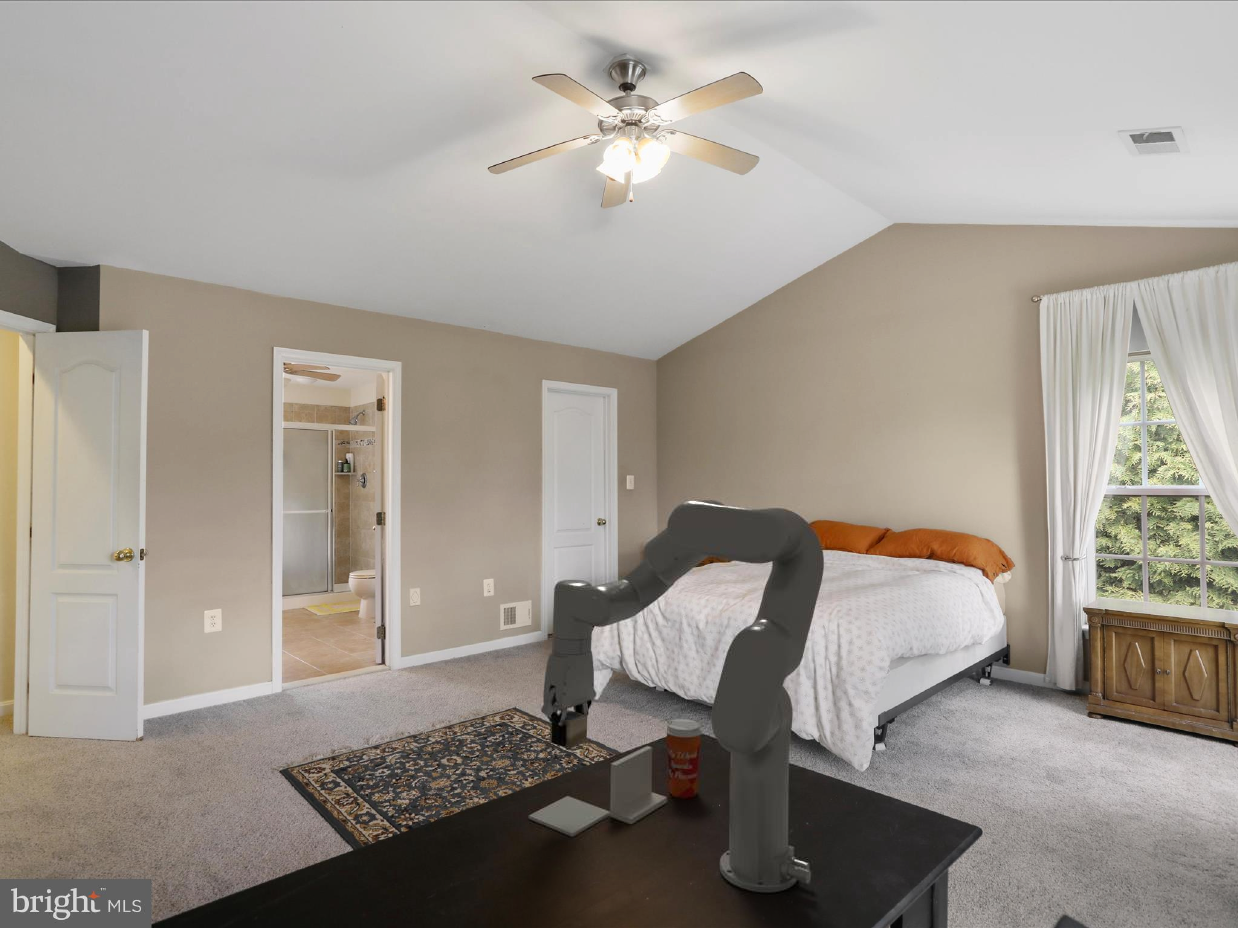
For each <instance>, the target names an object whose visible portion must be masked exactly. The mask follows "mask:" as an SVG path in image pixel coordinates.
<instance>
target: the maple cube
mask: <svg viewBox="0 0 1238 928" xmlns="http://www.w3.org/2000/svg"><path fill="white" fill-rule="evenodd" d="M557 714H558V715H559V716H560V712H557ZM549 723H550V725H549V743H551V744H553V743H552V742H551V738H552V723H551V722H550V721H549ZM564 724H565V725H566V745H565V746H563V747H562V748H565V749H568V750H570V749H573V748H575V747H578V746H580V745H582V744H585V743H587V741H588V740H587V739H588V716H587V715H584V714H580V713H577V712H574V710H570V709H567V713H566V717H565V722H564Z"/></svg>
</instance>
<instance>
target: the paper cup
mask: <svg viewBox="0 0 1238 928" xmlns="http://www.w3.org/2000/svg"><path fill="white" fill-rule="evenodd" d="M665 733H666V748H667V749H666V750H667V763H668V764H667V765H668V767H667V768H668V769H667V770H668V786H669V793H670V795H671V794H672V795H671V796H673V797H675V798H678V797H679V799H690V798H689V797H691V798H693V796H694V797H696V796H697V792H698V783H699V767H700V753H701V752H700V750H701V736H702V734H703V733H704V730H703V729H702V727H701V724H700V723H699V722H697V721H695V720H692V719H685V718H680V719H679V718H678V719H672V720H670V721H669V722H668V724H667V725H666V727H665Z"/></svg>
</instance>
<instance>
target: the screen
mask: <svg viewBox="0 0 1238 928" xmlns="http://www.w3.org/2000/svg"><path fill="white" fill-rule="evenodd" d="M652 770H653V747H651V746H649V745H648V746H645V747H642V748H640V749H638V750H635V751H634V752H632V753H630V754H627V755H626V756H624V757H622V758H620V759H618V760H616V761H614V762H612V763H610V804H609V807H610V808H609V810H610V811H609V812H610V815H609V816H610V818H612V819H616V820H618V821H622V823H623V822H624V823H626V824H629V825H633V824H634V823H636V822H637V821H639V820H641V819H642V818H644V817H646V816H647V815H648V814H650V813H652V812H654V811H656V810H657V809H658V808H661V807H662V806H663V805H665V804H666V803H668V797H667V796H665V795H660V794H658V793H655V792H654V791H653V792H652V789H653V788H652V787H653V786H652V777H653V776H652V775H653V774H652V773H653V771H652Z"/></svg>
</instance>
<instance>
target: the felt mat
mask: <svg viewBox="0 0 1238 928" xmlns="http://www.w3.org/2000/svg"><path fill="white" fill-rule="evenodd" d="M609 816H610V811H609V810H606V809H605V808H604V809H603V808H601V807H598V806H595V805H593V804H590V803H588V802H585V801H582V800H581V799H577V798H574V797H572V796H569V795H567V796H565V797H563V798H561V799H559V800H557V801H554V802H553V803H550V804H548V805H547V806H544V807H543V808H541V809H539V810H537V811H535V812H533V813H531V814H529V815H528V819H529V820H531V821H534V822H535V823H538V824H541V825H542V826H546V827H548V828H550V829H552V830H555V831H557V832H560V833H562V834H565V835H567V836H569V837H571V838H573V837H575V836H576V835H579V834H580V833H581V832H583V831H585V830H587V829H588V828H590V827H592V826H594V825H596V824H597V823H599V822H601V821H603V820H604V819H607V818H608V817H609Z"/></svg>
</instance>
